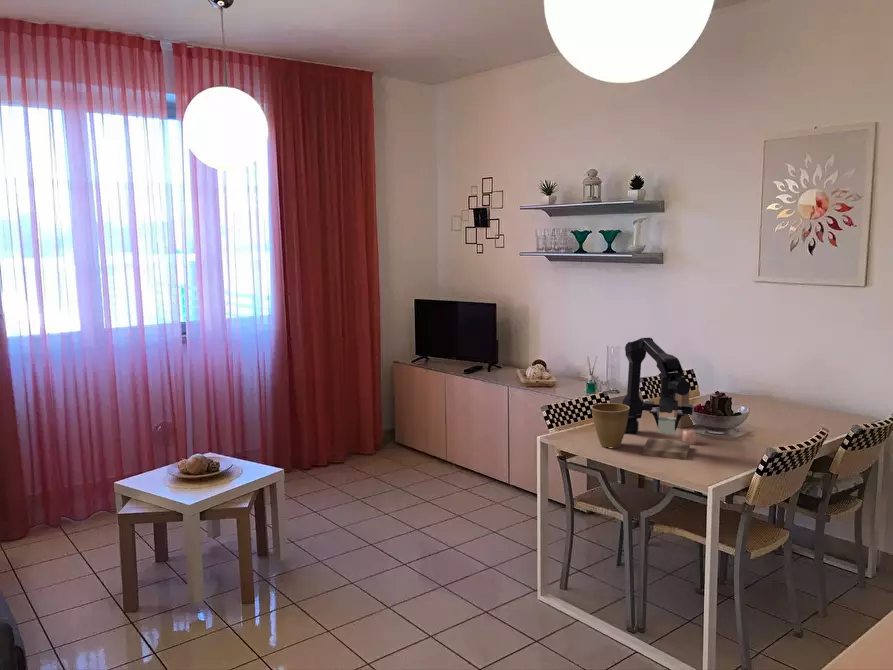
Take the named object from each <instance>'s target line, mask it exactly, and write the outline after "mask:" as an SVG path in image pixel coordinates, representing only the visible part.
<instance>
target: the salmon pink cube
mask: <svg viewBox="0 0 893 670" xmlns="http://www.w3.org/2000/svg"><path fill="white" fill-rule="evenodd" d="M696 434H697V431H696V430H694V429H687V428H685V429H682V440H681V441H687V442H690V446H693V444H694V445H696V439H697V438H696V436H697V435H696Z"/></svg>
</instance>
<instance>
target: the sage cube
mask: <svg viewBox="0 0 893 670" xmlns="http://www.w3.org/2000/svg"><path fill="white" fill-rule="evenodd" d="M675 424H676V418H674V417H669V416H659V420H658V427H657V433H658V434H665V435H675V433H676V431H677V429H676V430H675Z"/></svg>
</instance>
